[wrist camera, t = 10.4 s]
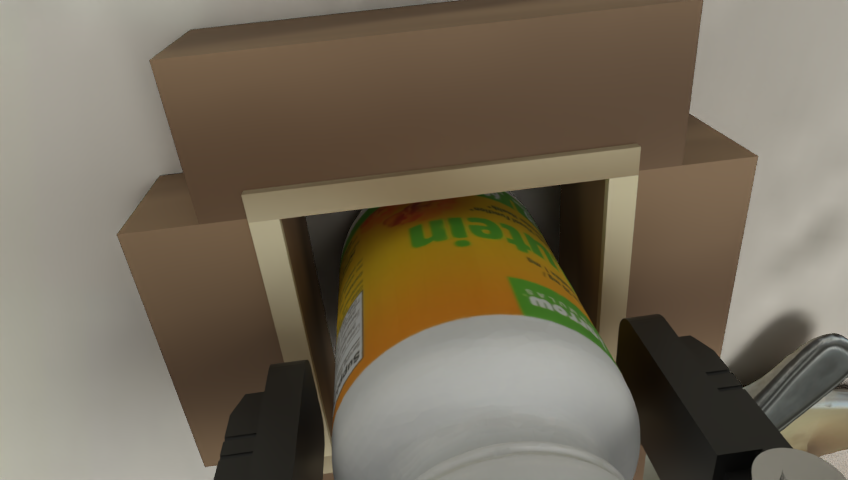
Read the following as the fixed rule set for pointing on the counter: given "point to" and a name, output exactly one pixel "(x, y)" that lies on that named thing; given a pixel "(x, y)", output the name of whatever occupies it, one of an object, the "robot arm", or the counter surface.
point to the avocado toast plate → (804, 398)
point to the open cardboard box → (427, 172)
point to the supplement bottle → (470, 353)
